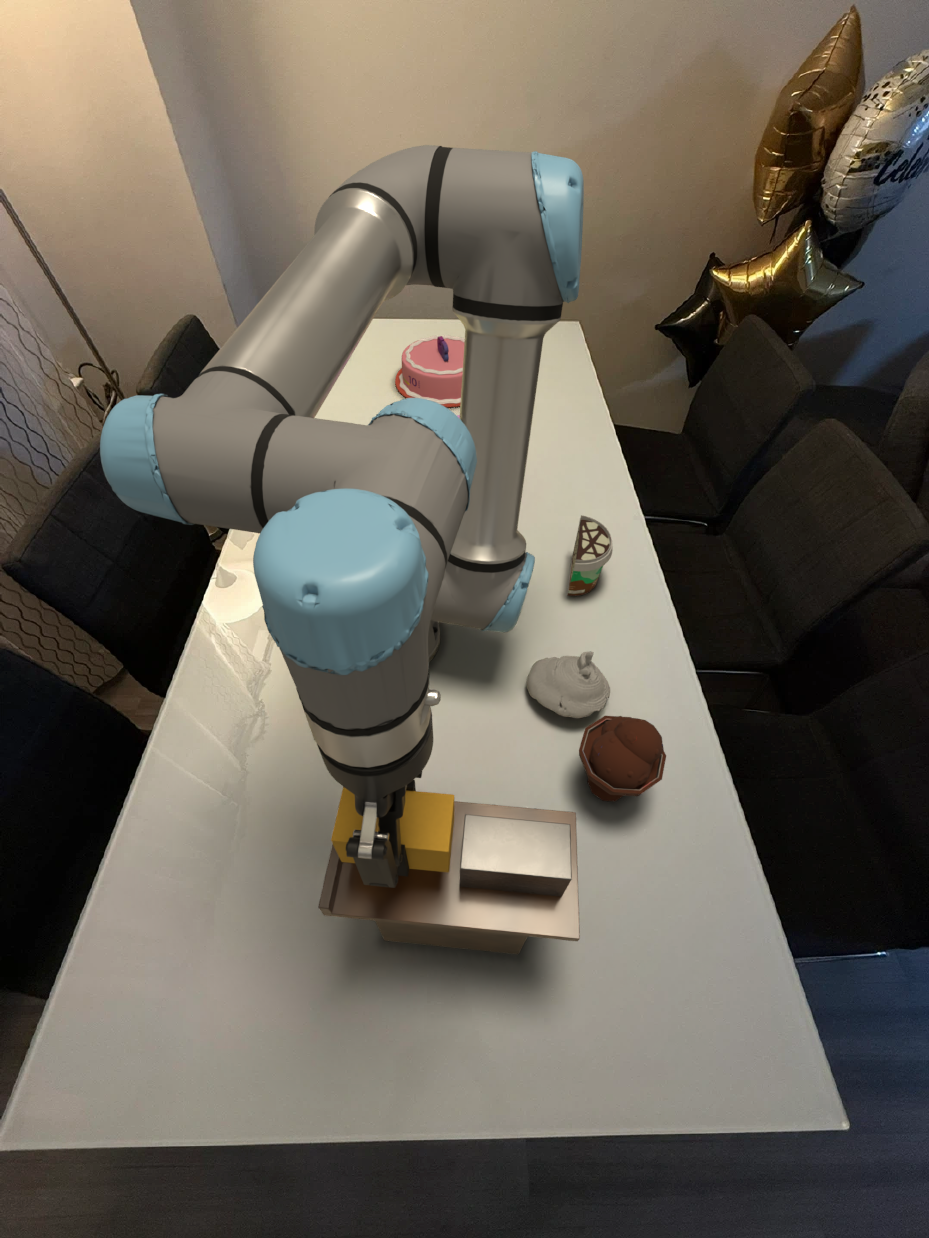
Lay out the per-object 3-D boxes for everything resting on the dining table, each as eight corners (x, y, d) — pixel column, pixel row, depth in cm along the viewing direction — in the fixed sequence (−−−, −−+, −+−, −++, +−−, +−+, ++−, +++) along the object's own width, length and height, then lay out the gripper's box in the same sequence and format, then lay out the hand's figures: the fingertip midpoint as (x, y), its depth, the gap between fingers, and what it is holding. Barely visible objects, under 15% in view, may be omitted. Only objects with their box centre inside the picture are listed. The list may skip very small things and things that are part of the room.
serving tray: (347, 946, 68) (309, 896, 50) (367, 842, 76) (340, 767, 58) (554, 968, 67) (592, 925, 49) (553, 861, 75) (585, 789, 57)
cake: (385, 364, 154) (381, 323, 145) (475, 352, 159) (476, 311, 150) (408, 415, 139) (405, 372, 130) (506, 399, 144) (509, 357, 135)
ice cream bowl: (592, 733, 86) (614, 678, 75) (660, 779, 82) (695, 728, 70) (553, 786, 81) (570, 736, 69) (623, 837, 77) (653, 793, 65)
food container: (601, 607, 102) (613, 568, 94) (566, 601, 103) (575, 562, 95) (604, 558, 109) (616, 518, 102) (572, 553, 110) (581, 513, 102)
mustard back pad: (341, 862, 53) (330, 840, 49) (352, 809, 57) (343, 784, 52) (448, 872, 53) (448, 851, 48) (454, 818, 56) (454, 794, 52)
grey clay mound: (573, 666, 97) (601, 623, 90) (609, 725, 90) (642, 684, 83) (512, 675, 92) (537, 631, 84) (545, 739, 85) (575, 696, 78)
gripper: (410, 870, 31) (426, 951, 49) (446, 611, 42) (448, 754, 60) (272, 857, 31) (338, 942, 49) (345, 603, 42) (377, 748, 61)
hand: (398, 839), depth 55 cm, fingers closed on mustard back pad, 5 cm apart
